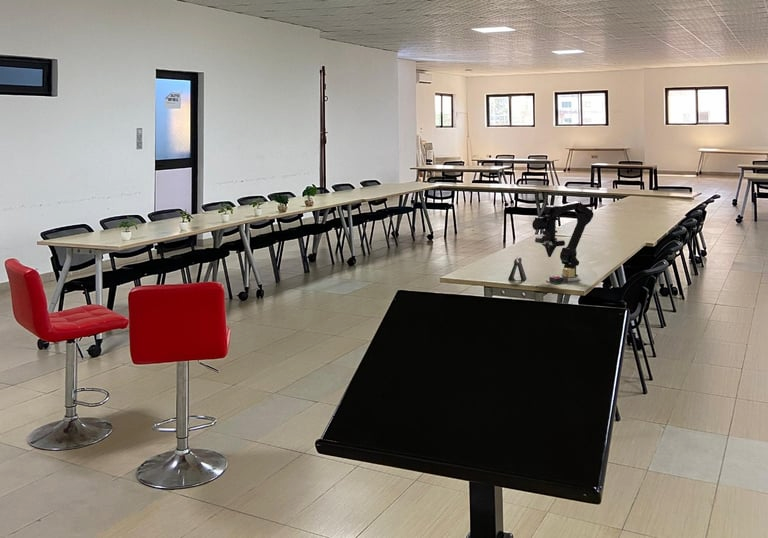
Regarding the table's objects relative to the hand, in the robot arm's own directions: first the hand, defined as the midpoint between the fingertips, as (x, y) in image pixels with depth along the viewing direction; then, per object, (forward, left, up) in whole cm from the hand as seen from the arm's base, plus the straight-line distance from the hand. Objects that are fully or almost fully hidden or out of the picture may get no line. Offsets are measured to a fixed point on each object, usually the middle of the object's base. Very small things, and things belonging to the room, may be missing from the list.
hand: (549, 256), depth 415 cm
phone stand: (+17, -6, -12) cm, 22 cm away
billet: (-5, +10, -11) cm, 16 cm away
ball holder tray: (-1, +10, -12) cm, 16 cm away
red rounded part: (+3, +10, -11) cm, 16 cm away
